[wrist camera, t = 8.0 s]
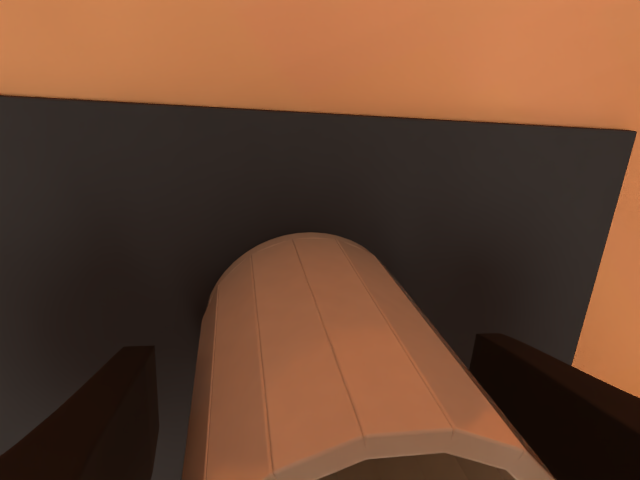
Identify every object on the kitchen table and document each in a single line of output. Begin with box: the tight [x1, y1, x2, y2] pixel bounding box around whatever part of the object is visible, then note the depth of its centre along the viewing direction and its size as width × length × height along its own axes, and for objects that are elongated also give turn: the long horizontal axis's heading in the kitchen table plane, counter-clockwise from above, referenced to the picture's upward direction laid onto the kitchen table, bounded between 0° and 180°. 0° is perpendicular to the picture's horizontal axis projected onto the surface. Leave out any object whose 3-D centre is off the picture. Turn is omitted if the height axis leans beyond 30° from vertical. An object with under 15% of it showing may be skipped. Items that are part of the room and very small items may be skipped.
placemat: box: [0, 95, 637, 480], centre depth 13 cm, size 13×17×1 cm
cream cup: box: [181, 232, 556, 480], centre depth 9 cm, size 5×5×7 cm
